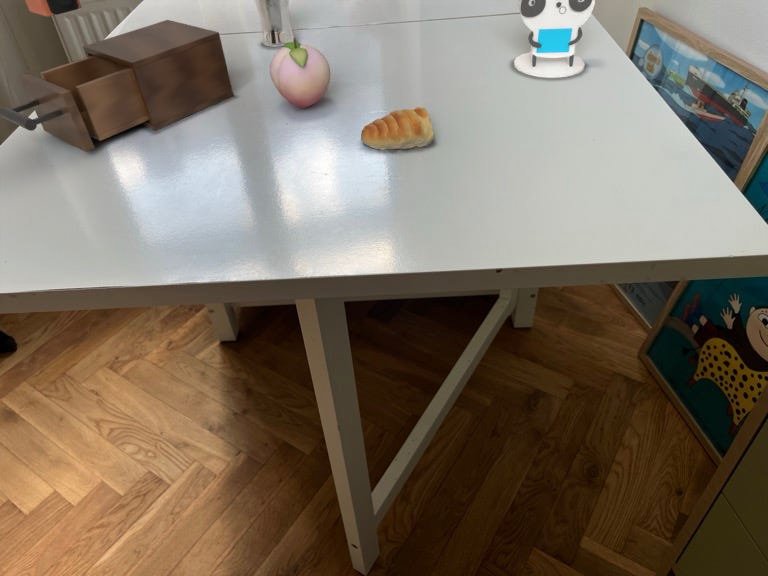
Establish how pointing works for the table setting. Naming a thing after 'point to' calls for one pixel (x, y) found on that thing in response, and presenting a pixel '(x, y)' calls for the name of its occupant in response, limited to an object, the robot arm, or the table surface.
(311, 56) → the decorative fruit
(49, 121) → the drawer
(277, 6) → the beer glass
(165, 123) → the cabinet
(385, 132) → the pastry
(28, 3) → the block
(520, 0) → the panda figurine
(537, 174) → the table surface
